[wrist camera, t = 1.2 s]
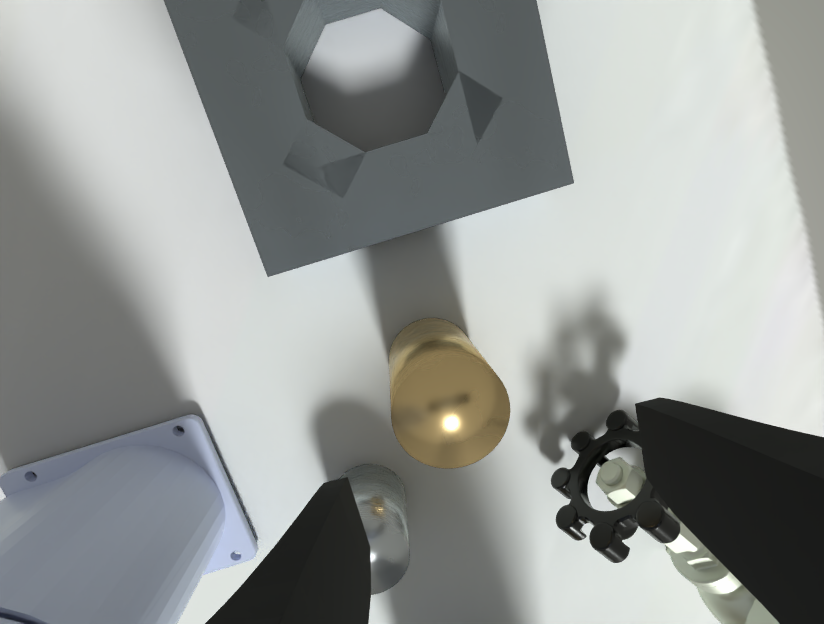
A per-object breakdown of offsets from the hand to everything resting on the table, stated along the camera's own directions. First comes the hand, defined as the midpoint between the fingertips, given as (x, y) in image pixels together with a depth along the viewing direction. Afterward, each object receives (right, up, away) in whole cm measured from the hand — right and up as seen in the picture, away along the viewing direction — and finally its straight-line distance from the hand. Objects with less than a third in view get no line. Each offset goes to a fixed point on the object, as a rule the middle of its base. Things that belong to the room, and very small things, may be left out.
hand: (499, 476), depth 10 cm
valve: (+11, -6, +12) cm, 17 cm away
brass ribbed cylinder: (-1, +2, +10) cm, 10 cm away
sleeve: (-4, -5, +11) cm, 13 cm away
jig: (-4, +13, +7) cm, 15 cm away
